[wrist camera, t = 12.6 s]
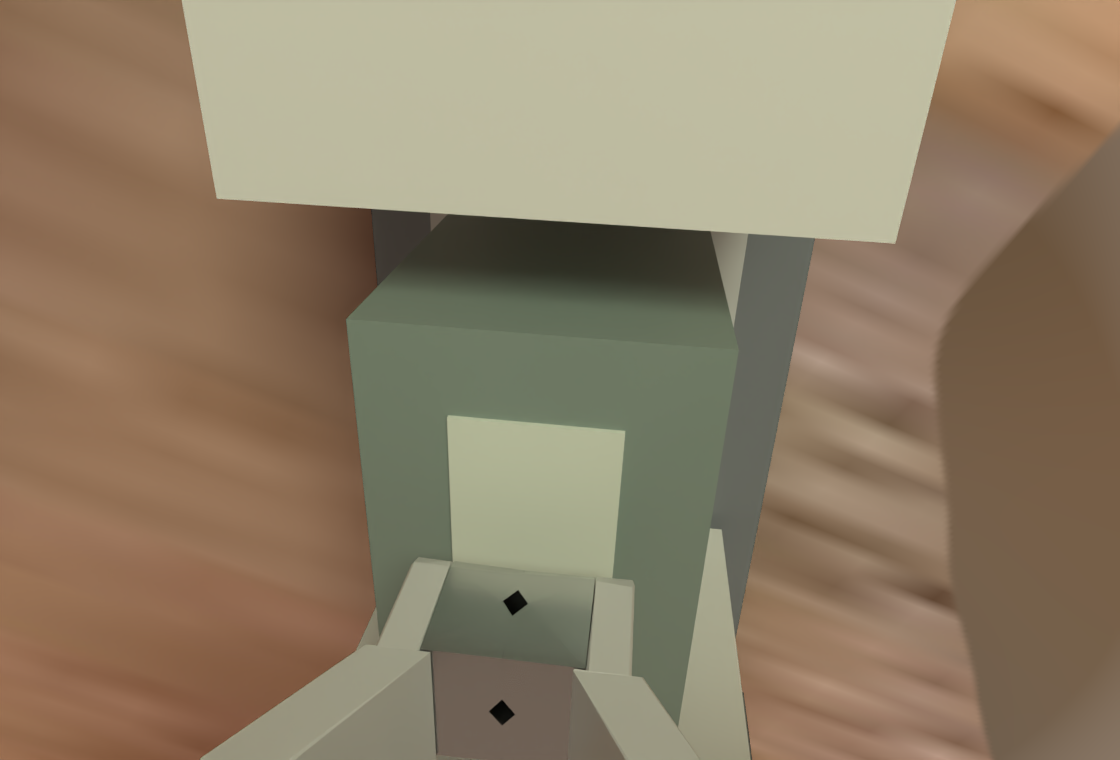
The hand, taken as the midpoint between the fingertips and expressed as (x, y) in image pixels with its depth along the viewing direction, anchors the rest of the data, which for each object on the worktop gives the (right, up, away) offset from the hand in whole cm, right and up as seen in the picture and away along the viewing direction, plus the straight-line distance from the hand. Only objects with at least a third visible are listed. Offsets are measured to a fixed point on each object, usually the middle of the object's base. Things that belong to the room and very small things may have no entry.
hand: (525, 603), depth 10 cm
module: (+1, +4, +7) cm, 8 cm away
